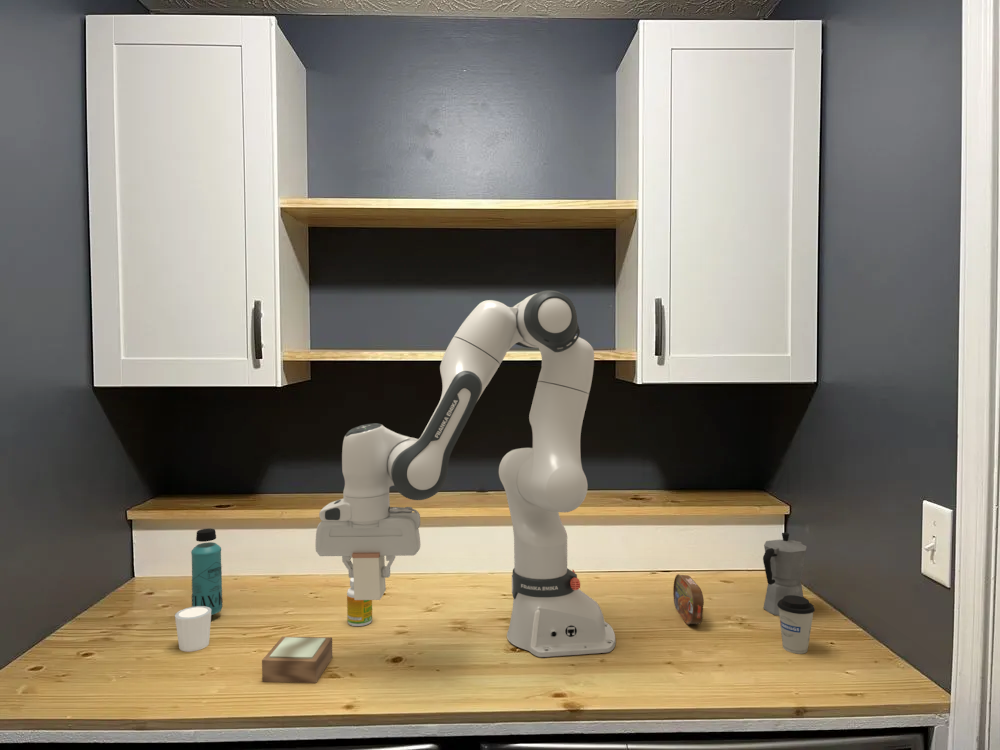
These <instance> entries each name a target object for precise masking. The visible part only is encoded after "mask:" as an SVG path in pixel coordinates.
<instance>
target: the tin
mask: <svg viewBox="0 0 1000 750" xmlns="http://www.w3.org/2000/svg"><path fill="white" fill-rule="evenodd" d="M672 588H673V589H672V590H673V591H672V592H673V603H674V607H675V610H676V612H677V613H678V614H679V617H681V619H682V621H684V622H685V624H686V625H700V624H701V623H702V621H703V618H704V616H703V615H704V602H705V601H704V600H705V599H704V595H703V592H702V588H700V586H699V585H698V583H696V581H695V580H694V579H693V578H692V577H691V576H690V575H686V574H676V575H675V576H674V582H673V587H672Z"/></svg>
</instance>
